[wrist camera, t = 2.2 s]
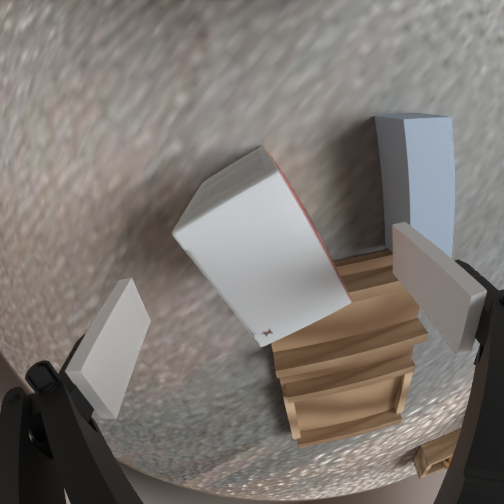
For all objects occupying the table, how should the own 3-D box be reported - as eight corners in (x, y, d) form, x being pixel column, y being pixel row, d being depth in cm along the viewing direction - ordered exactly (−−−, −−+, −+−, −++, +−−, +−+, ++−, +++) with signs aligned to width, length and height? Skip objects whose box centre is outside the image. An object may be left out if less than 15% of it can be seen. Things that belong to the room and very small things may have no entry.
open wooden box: (421, 445, 43) (428, 465, 39) (489, 413, 42) (498, 430, 38) (413, 460, 47) (419, 479, 42) (477, 432, 46) (485, 448, 41)
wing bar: (384, 244, 26) (409, 272, 21) (373, 116, 21) (403, 119, 16) (422, 236, 25) (451, 261, 21) (416, 113, 21) (451, 117, 16)
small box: (315, 229, 25) (356, 305, 15) (255, 262, 26) (261, 352, 16) (264, 141, 22) (281, 165, 12) (199, 181, 23) (168, 234, 13)
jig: (256, 276, 26) (257, 300, 23) (418, 242, 25) (437, 260, 22) (292, 430, 37) (295, 451, 34) (397, 405, 36) (405, 423, 33)
